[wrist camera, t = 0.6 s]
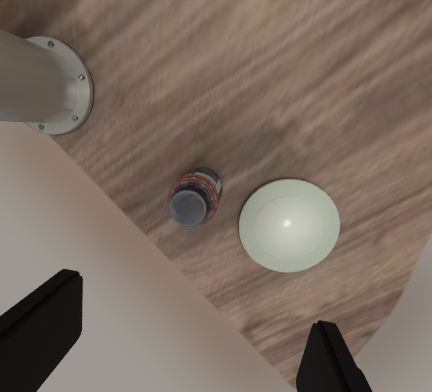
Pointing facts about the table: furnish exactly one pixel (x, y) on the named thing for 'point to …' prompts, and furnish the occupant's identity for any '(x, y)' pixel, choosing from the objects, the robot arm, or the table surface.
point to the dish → (289, 225)
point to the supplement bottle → (195, 197)
